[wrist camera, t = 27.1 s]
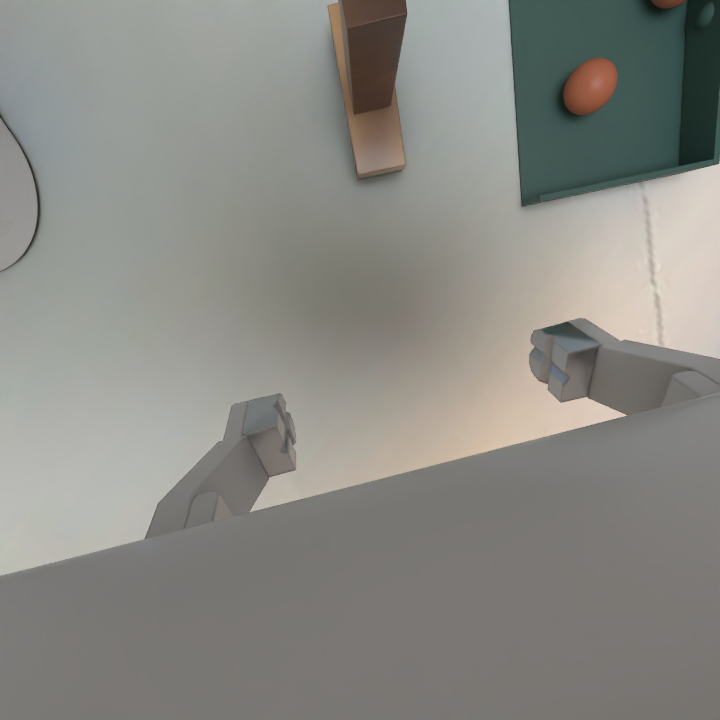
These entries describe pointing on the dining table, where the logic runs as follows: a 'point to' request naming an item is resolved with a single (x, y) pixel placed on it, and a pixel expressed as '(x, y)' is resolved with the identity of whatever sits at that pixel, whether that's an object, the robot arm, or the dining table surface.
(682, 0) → the ball
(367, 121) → the brush
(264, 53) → the dining table surface
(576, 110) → the ball
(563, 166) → the dustpan
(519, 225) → the dining table surface
